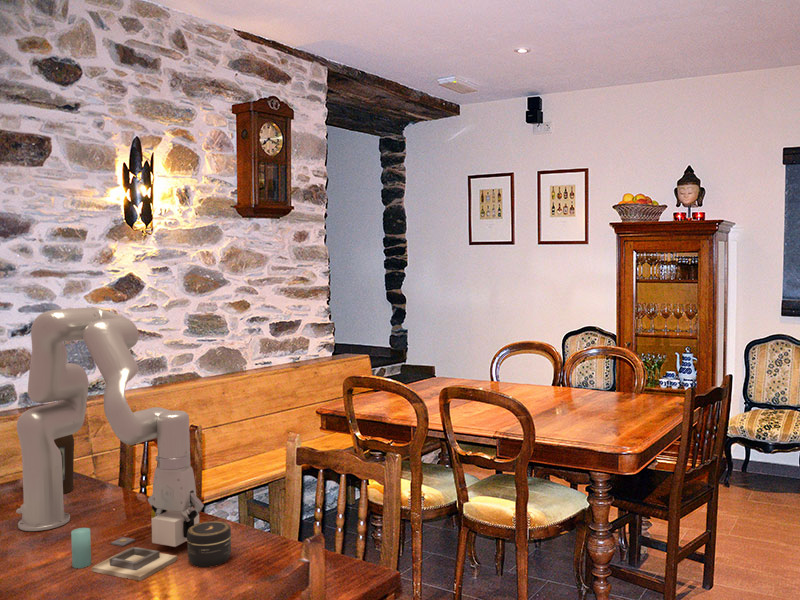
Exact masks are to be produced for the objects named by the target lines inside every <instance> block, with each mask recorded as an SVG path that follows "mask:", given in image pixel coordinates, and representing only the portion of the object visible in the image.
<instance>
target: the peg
mask: <svg viewBox="0 0 800 600" xmlns="http://www.w3.org/2000/svg"><path fill="white" fill-rule="evenodd" d="M70 536H71V556H72V557H71V561H72V562H71V566H72V568H73V567H74V568H73V569H77V568H78V569H84V567H85V568H88V567H90V566H91V565H92V544H91V543H92V540H91V528H90V527H79V528H74V529H73V530H71V534H70ZM87 566H88V567H87Z"/></svg>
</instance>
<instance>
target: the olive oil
mask: <svg viewBox="0 0 800 600" xmlns="http://www.w3.org/2000/svg"><path fill="white" fill-rule="evenodd" d="M54 442H55V444H56V446H57V447H58V449H59V450H60V452H61V456H62V475H63V495H65V494H68V493H70V492H73V490H74V466H75V465H74V462H75V461H74V460H75V459H74V458H75V457H74V455H75V453H74V452H75V439H74V434H71V435H68V436H64V437H61V438H57V439H54Z"/></svg>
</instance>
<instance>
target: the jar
mask: <svg viewBox="0 0 800 600" xmlns="http://www.w3.org/2000/svg"><path fill="white" fill-rule="evenodd" d="M231 531H232V530H231V525H230V524H229V523H227V522H225V521H220V520H211V521H210V520H208V521H202V522H199V523H198V524H195V525H193V526H191V527H190V528H189V529H188V531H187V541H186V542H187V557H188V560H189V563H190V564H191V563H192V564H193V565H192V564H191V565H192V566H194V565H195V566H194V567H197V566H198V568H211V567H210V566H213V567H217V566H216V565H218V566H220V564H221V565H223V564H225V563H226V562H227V561H228V560H229V559H230V557H231V552H232V532H231ZM224 562H225V563H224Z"/></svg>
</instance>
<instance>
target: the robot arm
mask: <svg viewBox="0 0 800 600" xmlns="http://www.w3.org/2000/svg"><path fill="white" fill-rule="evenodd" d="M30 337H31V338H30V340H31V357H30V366H29V373H28V381H27V382H28V383H27V395H28V397H29V399H30V400H31V401H32V402H34V403H37V404H43V405H41V406H35V407H32V408H29V409H27V410H26V411H24V412H22V413H21V414H20V416H19V417H18V418H17V422H16V432H17V433H16V434H17V436H18V437H17V438H18V439H19V444H20V450H21V462H22V465H21V466H22V488H23V491H22V493H23V503H22V504H21V505H20V507H19V508H17V509H16V514H19V515H20V514H21V519H20V520H19V521H18V523H17V528H18V529H19V530H21V531H24V532H39V531H48V530H52V529H55V528H59V527H62V526H64V525H66V524H67V523H69V522H70V520H71V514H70V513H69V512H67V511H66V512H65V510H64V494H63V475H62V456H61V452H60V450H59V449H58V447H57V446H56V444H55V442H54V439H57V438H61V437H64V436H68V435H71V434H72V435H74V434H76V433H78V432H79V431H80V430H81V428H82V427H83V425H84V422H85V419H86V418H85V417H86V409H87V402H88V395H89V394H88V393H89V383H90V382H89V378H88V374H87V372H86V370H85V369H84V368H83V366H81V365H80V364H77V363H70V362H69V363H67V360H68V351H67V348H66V345H65V343H64V342H73V341H82V340H83V341H84V344H85V346H86V348H87V350H88V352H89V353H90V356H91V357H92V359H93V361H94V363H95V365H96V367H97V368H98V371H99V372H100V374H101V377H102V378H103V379H104V382H105V388H104V393H103V412H104V415H105V418H106V420H107V421H108V423H109V425H110V428H111V429H112V431H113V433H114V434H115V436H116V437H117V438H118V440H119V441H120V442H122V443H123V444H124V445H125V444H126V445H137V444H139V443H143V442H147V441H150V440H153V439H156V441H157V443H156V444H157V455H156V456H155V461H157V467H155V470H154V475H153V481H152V494H151V495H150V496H149V497H148V498H147V502H148V503H149V505H150V506H151V510H152V509H153V510H154V512H155V516H158V515H160V514H162V513H164V512H166V511H167V510H169V511H177V512H182V513H183V516H184V518H185V520H186V521H184V523H183V526H184V537H185V538H187V531H188V529H189V528H190V527H191V526H193V525H194V518H196V516H197V515H198V514H199V515H200V514H201V513H200V512H201V511H202V510H203V508H204V506H205V505H204V503H203V502H202V501H201V500H200V499H199V498H198V497H197V490H196V489H197V488H196V480H195V475H194V469H193V467H192V466H191V444H190V442H191V439H190V417H189V414H188V412H186V411H184V410H170V409H167V408H164V407H159V406H156V407H155V406H153V407H149V408H147V409H141V410H137V411H134V412H133V411H132V409H131V407H130V405H129V403H128V401H127V397H126V387H127V384H128V382H130V381H131V380H132V379H134V377H136V375H137V374H138V372H139V366H138V364H137V362H136V360H135V358H134V355H132V353H131V351H130V349H131V348H133V347H135V346H136V344H137V343H138V342H139V338H140V334H139V329H138V326H136V324H135V323H134V322H133V321H132V319H130V318H127V317H125V316H122V315H120V314H117V313H115V312H111V311H108V310H106V309H103V308H100V307H92V306H91V307H90V306H89V307H75V308H74V307H70V308H61V309H60V308H58V309H51V310H48V311H45V312H42V313H40V314H39V315H38V316H36V317H35V319H34V320H33V322H32V325H31V330H30ZM54 402H55V403H54ZM49 403H50V404H49ZM187 510H188V511H189V513H190V514H188V511H187Z"/></svg>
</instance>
